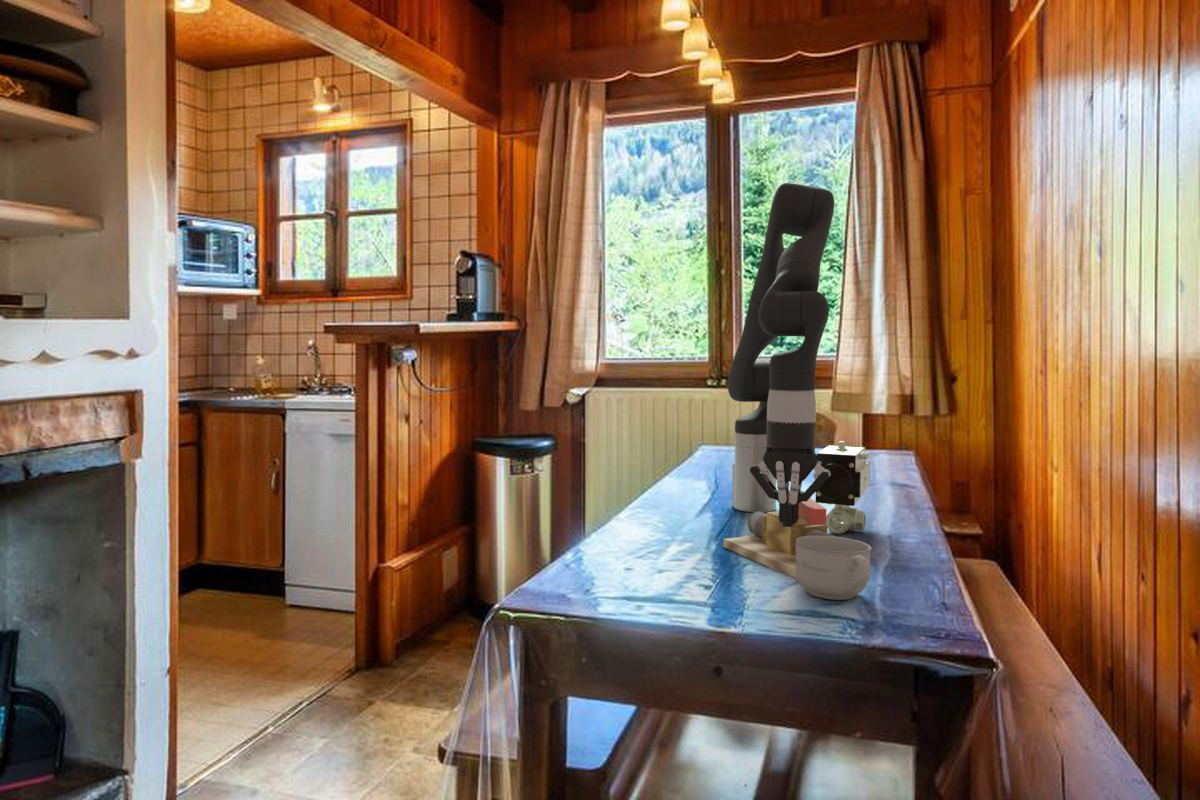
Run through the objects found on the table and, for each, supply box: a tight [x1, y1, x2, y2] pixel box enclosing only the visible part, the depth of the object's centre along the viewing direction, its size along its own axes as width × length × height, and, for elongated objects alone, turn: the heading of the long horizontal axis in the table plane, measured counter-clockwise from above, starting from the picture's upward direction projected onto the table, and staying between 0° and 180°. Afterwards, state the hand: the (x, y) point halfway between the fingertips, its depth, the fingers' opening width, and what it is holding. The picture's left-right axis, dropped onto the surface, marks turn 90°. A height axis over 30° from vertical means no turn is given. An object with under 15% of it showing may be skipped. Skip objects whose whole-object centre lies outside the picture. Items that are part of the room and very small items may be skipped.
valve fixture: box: [722, 510, 837, 579], centre depth 136 cm, size 21×15×9 cm
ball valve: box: [814, 440, 871, 535], centre depth 154 cm, size 18×8×18 cm, turn 154°
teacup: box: [795, 535, 873, 601], centre depth 114 cm, size 14×11×8 cm
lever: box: [789, 489, 827, 525], centre depth 129 cm, size 16×3×2 cm, turn 1°
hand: (788, 525), depth 125 cm, fingers closed
